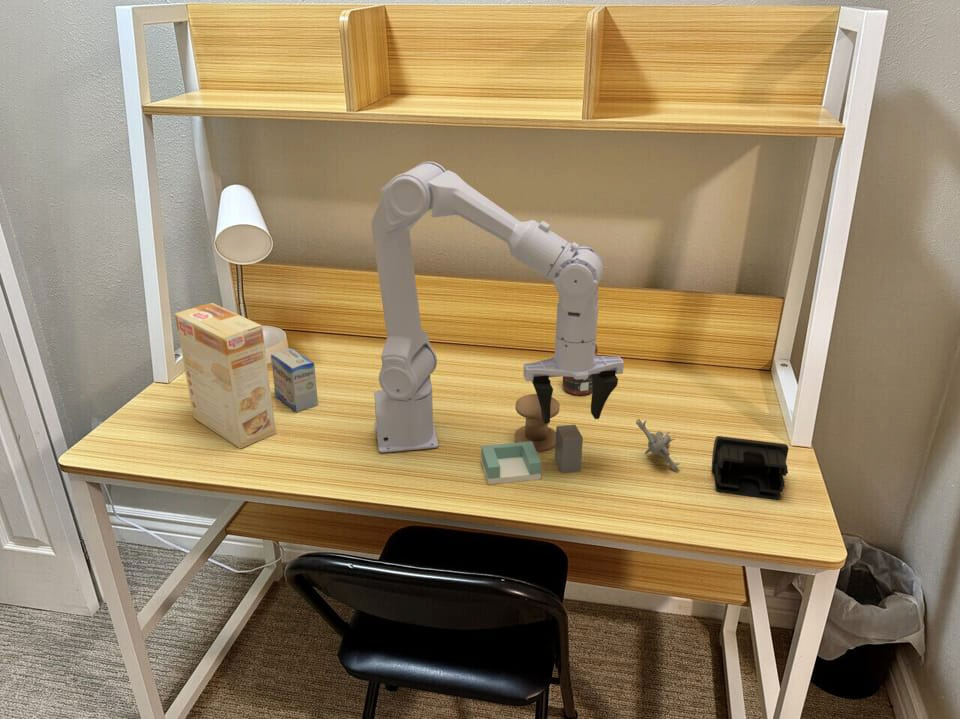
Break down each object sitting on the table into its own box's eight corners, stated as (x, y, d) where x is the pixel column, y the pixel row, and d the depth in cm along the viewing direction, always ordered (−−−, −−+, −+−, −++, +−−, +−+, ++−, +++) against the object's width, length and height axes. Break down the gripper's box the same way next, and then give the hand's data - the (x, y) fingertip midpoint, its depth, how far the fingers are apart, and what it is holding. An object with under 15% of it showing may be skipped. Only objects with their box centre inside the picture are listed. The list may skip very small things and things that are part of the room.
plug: (561, 473, 114) (563, 439, 112) (554, 459, 118) (556, 426, 115) (580, 471, 115) (582, 438, 112) (573, 457, 119) (575, 424, 116)
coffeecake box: (278, 433, 125) (264, 324, 116) (239, 450, 120) (222, 338, 111) (229, 403, 134) (212, 300, 125) (192, 418, 129) (172, 312, 120)
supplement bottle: (593, 398, 136) (597, 340, 131) (560, 394, 137) (563, 338, 132) (595, 383, 141) (600, 327, 136) (563, 380, 142) (567, 324, 137)
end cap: (778, 474, 115) (786, 436, 112) (784, 501, 108) (792, 462, 105) (710, 465, 117) (716, 428, 114) (711, 492, 110) (718, 453, 108)
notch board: (488, 484, 112) (488, 467, 110) (481, 462, 117) (481, 445, 116) (540, 479, 113) (541, 462, 112) (531, 457, 118) (532, 441, 117)
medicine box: (274, 397, 136) (269, 353, 132) (296, 389, 139) (292, 346, 135) (296, 413, 131) (291, 368, 127) (319, 405, 133) (314, 361, 130)
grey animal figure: (697, 453, 120) (692, 463, 112) (667, 474, 122) (660, 486, 113) (657, 403, 122) (649, 410, 113) (628, 425, 124) (618, 433, 115)
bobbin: (519, 453, 119) (521, 417, 117) (510, 430, 126) (511, 395, 123) (562, 449, 121) (564, 413, 118) (551, 427, 127) (553, 392, 124)
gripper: (532, 350, 102) (529, 436, 108) (634, 342, 105) (625, 427, 110) (521, 329, 109) (518, 412, 114) (617, 323, 111) (610, 404, 117)
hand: (570, 418), depth 113 cm, fingers open, 7 cm apart
